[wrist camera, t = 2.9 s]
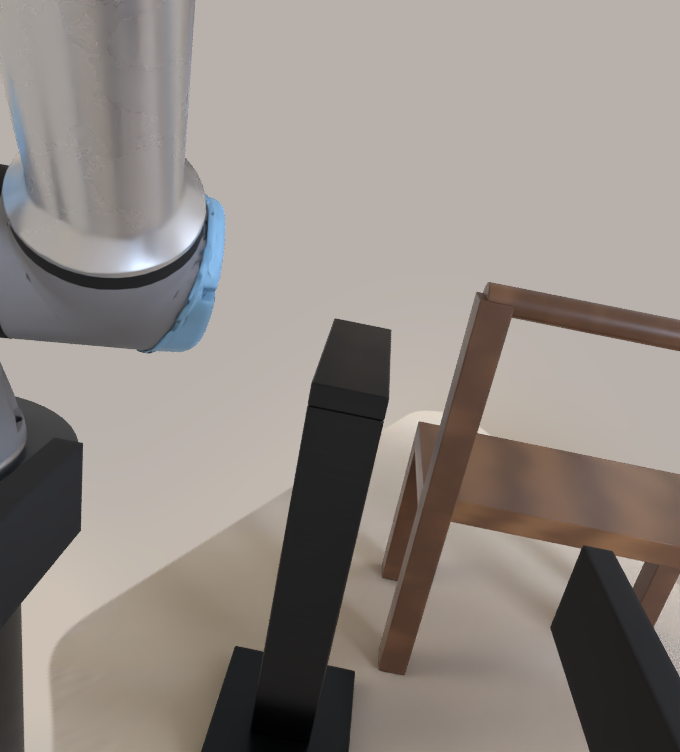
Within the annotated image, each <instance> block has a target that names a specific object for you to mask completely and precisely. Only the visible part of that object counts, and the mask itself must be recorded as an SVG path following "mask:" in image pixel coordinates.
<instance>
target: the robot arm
mask: <svg viewBox="0 0 680 752" xmlns="http://www.w3.org/2000/svg"><path fill="white" fill-rule="evenodd" d="M194 10H195V0H0V78H1V82H2V86H3V90H4V93H5V98H6V101H7V105H8V109H9V113H10V117H11V121H12V125H13V129H14V132H15V137H16V141H17V145H18V148H19V152H18V153H17V154H16V156H15V157H14V158H13V160H12V161H11V163H10V165H9V166H8V165H2V164H0V337H1V338H10V339H12V338H14V339H25V340H36V341H47V342H48V341H49V342H59V343H70V344H82V345H92V346H104V347H115V348H126V349H136V350H137V351H139V352H143V353H152V352H156V351H170V352H182V351H186V350H189V349H191V348H192V347H194V346H195V345H196V344H197V343H198V342H199V341H200V340H201V338H202V337H203V335H204V333H205V331H206V328H207V325H208V322H209V319H210V317H211V314H212V310H213V305H214V302H215V290H216V289H217V285H218V282H219V278H220V273H221V267H222V260H223V253H224V241H225V214H224V209H223V207H222V205H221V204H220V203H219V202H218V201H217V200H216V199H213V198H211V197H208V196H207V195H206V194H205V193H204V189H203V185H202V182H201V180H200V178H199V176H198V174H197V173H196V171H195V169H194V168H193V166H192V165H191V164H190V163H189V162H188V161H187V159H186V158H185V147H186V132H187V117H188V102H189V101H188V100H189V86H190V71H191V70H190V69H191V56H192V40H193V24H194ZM26 451H27V428H26V424H25V420H24V416H23V414H22V411H21V410H20V408H19V407H18V405H17V401H16V398H15V396H14V393H13V391H12V388H11V386H10V383H9V381H8V379H7V377H6V374H5V372H4V370H3V367H2V365H1V363H0V481H1V480H2V479H4V478H5V477H6V476H8V475H9V474H10V473H11V472H13V471H14V470H15V469H16V468H17V467H18V466H19V464H20V463H21V462H22V460H23V458H24V456H25V454H26ZM82 458H83V443H79V442H75V441H70V440H65V439H60V438H55V437H54V438H53V439H52V440H50V441H49V442H48V443H47V444H46V445H45V446H43V447H42V448H41V449H40V450H39V451H37V452H36V453H35V454H34V455H33V456H32V457H30V458H29V459H28V460H27V461H26V462H25V463H23V464H22V465H21V466H20V467H19V468H18V469H16V470H15V471H14V472H13V473H12V474H10V475H9V476H8V477H7V478H6V479H5V480H3V481H2V482H1V483H0V628H1V627H2V626H3V625H4V623H5V622H6V621H7V620H8V619H9V617H10V616H11V615H12V614H13V612H14V611H15V610H16V609H17V608H18V606H19V605H20V604H21V603H22V601H23V600H24V599H25V598H26V597H27V595H28V594H29V593H30V592H31V590H32V589H33V588H34V587H35V586H36V584H37V583H38V582H39V581H40V579H41V578H42V577H43V576H44V575H45V573H46V572H47V571H48V570H49V569H50V567H51V566H52V565H53V564H54V562H55V561H56V560H57V559H58V557H59V556H60V555H61V554H62V553H63V551H64V550H65V549H66V548H67V547H68V545H69V544H70V543H71V542H72V540H73V539H74V538H75V537H76V536H77V534H78V533H79V532H80V531H81V501H82V499H81V497H82V461H83V459H82ZM550 628H551V631H552V634H553V637H554V640H555V644H556V647H557V650H558V653H559V656H560V659H561V662H562V666H563V669H564V672H565V675H566V678H567V681H568V685H569V688H570V691H571V694H572V697H573V700H574V703H575V707H576V710H577V713H578V716H579V719H580V722H581V725H582V729H583V732H584V735H585V738H586V741H587V744H588V747H589V751H590V752H680V677H679V675H678V673H677V671H676V669H675V667H674V665H673V664H672V662H671V660H670V658H669V656H668V654H667V652H666V650H665V649H664V647H663V645H662V643H661V641H660V639H659V637H658V635H657V633H656V632H655V630H654V628H653V626H652V624H651V622H650V620H649V618H648V617H647V615H646V613H645V611H644V609H643V607H642V605H641V603H640V601H639V600H638V598H637V596H636V594H635V592H634V590H633V588H632V586H631V585H630V583H629V581H628V579H627V577H626V575H625V573H624V571H623V569H622V568H621V566H620V564H619V562H618V560H617V558H616V556H615V554H614V553H613V551H610V550H605V549H600V548H595V547H590V546H585V545H583V547H582V549H581V552H580V554H579V557H578V559H577V562H576V564H575V567H574V569H573V572H572V574H571V577H570V579H569V582H568V584H567V587H566V589H565V592H564V594H563V597H562V599H561V602H560V604H559V607H558V609H557V612H556V614H555V617H554V619H553V622H552V625H551V627H550Z"/></svg>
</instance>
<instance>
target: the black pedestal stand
mask: <svg viewBox="0 0 680 752" xmlns="http://www.w3.org/2000/svg"><path fill="white" fill-rule="evenodd" d="M390 353H391V330H390V329H385V328H380V327H375V326H370V325H365V324H360V323H355V322H350V321H345V320H340V319H334V322H333V324H332V327H331V330H330V333H329V336H328V338H327V341H326V344H325V347H324V350H323V353H322V355H321V358H320V361H319V364H318V366H317V369H316V372H315V375H314V378H313V380H312V384H311V389H310V395H309V400H308V406H307V412H306V418H305V423H304V428H303V434H302V440H301V445H300V451H299V457H298V463H297V468H296V473H295V479H294V485H293V490H292V496H291V502H290V507H289V513H288V518H287V524H286V530H285V535H284V541H283V547H282V552H281V558H280V564H279V569H278V575H277V580H276V586H275V592H274V597H273V603H272V609H271V614H270V620H269V626H268V631H267V637H266V642H265V648H264V652H262V651H257V650H253V649H248V648H243V647H238V646H235V648H234V651H233V654H232V657H231V660H230V663H229V667H228V670H227V673H226V676H225V679H224V682H223V685H222V688H221V691H220V694H219V698H218V701H217V704H216V707H215V710H214V713H213V716H212V719H211V722H210V726H209V729H208V732H207V735H206V738H205V741H204V744H203V747H202V750H201V752H349V741H350V729H351V716H352V704H353V691H354V679H355V671H352V670H348V669H343V668H338V667H333V666H329V665H327V664H328V660H329V655H330V651H331V647H332V642H333V638H334V634H335V630H336V625H337V621H338V617H339V612H340V608H341V604H342V599H343V595H344V591H345V586H346V582H347V578H348V574H349V569H350V565H351V561H352V556H353V552H354V548H355V543H356V539H357V535H358V530H359V526H360V522H361V517H362V513H363V509H364V505H365V500H366V496H367V492H368V487H369V483H370V479H371V474H372V470H373V466H374V461H375V457H376V453H377V449H378V444H379V440H380V436H381V431H382V427H383V423H384V421H383V420H384V418H385V414H386V410H387V406H388V401H389V384H390Z"/></svg>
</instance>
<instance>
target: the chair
mask: <svg viewBox="0 0 680 752" xmlns="http://www.w3.org/2000/svg"><path fill="white" fill-rule="evenodd" d="M511 318H516V319H521V320H526V321H531V322H536V323H541V324H546V325H551V326H556V327H561V328H566V329H571V330H576V331H581V332H586V333H591V334H596V335H601V336H606V337H611V338H616V339H621V340H626V341H631V342H636V343H641V344H646V345H651V346H656V347H661V348H666V349H671V350H676V351H680V320H677V319H672V318H667V317H662V316H657V315H652V314H647V313H642V312H637V311H632V310H627V309H622V308H617V307H612V306H607V305H602V304H597V303H591V302H587V301H581V300H577V299H572V298H567V297H562V296H556V295H551V294H546V293H542V292H536V291H531V290H526V289H521V288H516V287H511V286H506V285H501V284H496V283H491V282H488V283H487V285H486V286H485V289H484V292H483V293H480V292H477V293H476V295H475V299H474V303H473V306H472V310H471V314H470V317H469V321H468V325H467V328H466V332H465V336H464V339H463V343H462V347H461V350H460V354H459V358H458V361H457V365H456V369H455V373H454V376H453V380H452V383H451V387H450V391H449V395H448V398H447V402H446V406H445V409H444V413H443V417H442V420H441V424H440V426H439V425H434V424H429V423H424V422H418V426H417V430H416V434H415V438H414V442H413V446H412V450H411V454H410V457H409V461H408V465H407V469H406V473H405V477H404V481H403V485H402V489H401V493H400V496H399V500H398V504H397V508H396V512H395V516H394V520H393V524H392V528H391V532H390V535H389V539H388V543H387V547H386V551H385V555H384V559H383V563H382V578H387V579H391V580H396V581H398V582H397V586H396V589H395V593H394V597H393V600H392V604H391V608H390V611H389V615H388V619H387V622H386V626H385V630H384V633H383V637H382V641H381V645H380V648H379V668H378V669H379V670H382V671H386V672H391V673H396V674H401V675H405V672H406V669H407V665H408V662H409V659H410V655H411V652H412V649H413V645H414V642H415V639H416V635H417V632H418V629H419V625H420V622H421V619H422V615H423V612H424V609H425V605H426V602H427V599H428V595H429V592H430V589H431V585H432V582H433V579H434V575H435V572H436V569H437V565H438V562H439V558H440V555H441V552H442V548H443V545H444V542H445V538H446V535H447V532H448V528H449V525H450V522H455V523H460V524H465V525H470V526H474V527H479V528H484V529H489V530H494V531H499V532H504V533H508V534H513V535H518V536H523V537H528V538H533V539H538V540H542V541H547V542H552V543H557V544H562V545H567V546H572V547H576V548H581V549H582V547H583V545H585V546H590V547H595V548H600V549H605V550H610V551H613V553H614V554H615V556H620V557H625V558H630V559H635V560H640V561H644V562H645V563H644V565H643V567H642V569H641V571H640V573H639V576H638V578H637V580H636V582H635V584H634V587H633V590H634V592H635V594H636V596H637V598H638V600H639V601H640V603H641V605H642V607H643V609H644V611H645V613H646V615H647V617H648V618H649V620H650V622H651V624H652V626H653V627H654V625H655V623H656V621H657V619H658V617H659V615H660V613H661V611H662V609H663V607H664V605H665V602H666V600H667V598H668V596H669V594H670V592H671V590H672V588H673V586H674V584H675V582H676V580H677V578H678V576H679V574H680V474H675V473H670V472H665V471H660V470H655V469H651V468H646V467H640V466H635V465H631V464H626V463H621V462H616V461H611V460H606V459H601V458H596V457H592V456H586V455H582V454H577V453H572V452H566V451H562V450H557V449H552V448H547V447H542V446H537V445H532V444H528V443H523V442H518V441H513V440H508V439H503V438H498V437H493V436H488V435H483V434H478V433H477V431H478V428H479V425H480V421H481V418H482V415H483V411H484V408H485V405H486V401H487V398H488V395H489V391H490V388H491V385H492V381H493V378H494V375H495V371H496V368H497V364H498V361H499V358H500V355H501V351H502V348H503V344H504V341H505V338H506V335H507V331H508V327H509V324H510V321H511Z"/></svg>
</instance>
